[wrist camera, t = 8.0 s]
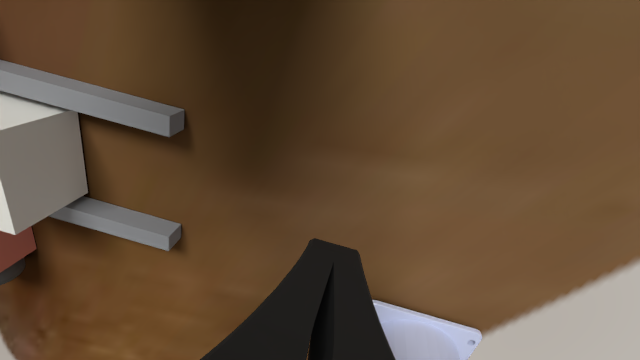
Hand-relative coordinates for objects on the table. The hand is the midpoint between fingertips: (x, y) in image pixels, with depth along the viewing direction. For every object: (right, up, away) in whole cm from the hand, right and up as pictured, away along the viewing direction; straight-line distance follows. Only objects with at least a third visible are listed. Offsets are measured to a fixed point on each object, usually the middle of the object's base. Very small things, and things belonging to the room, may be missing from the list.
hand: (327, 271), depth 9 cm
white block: (-19, +5, +12) cm, 23 cm away
